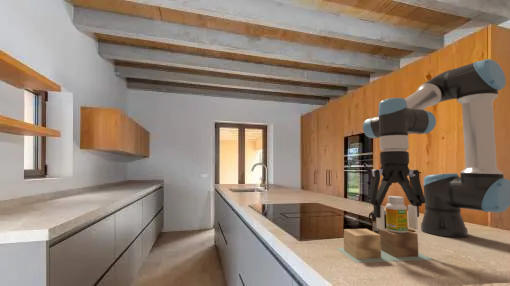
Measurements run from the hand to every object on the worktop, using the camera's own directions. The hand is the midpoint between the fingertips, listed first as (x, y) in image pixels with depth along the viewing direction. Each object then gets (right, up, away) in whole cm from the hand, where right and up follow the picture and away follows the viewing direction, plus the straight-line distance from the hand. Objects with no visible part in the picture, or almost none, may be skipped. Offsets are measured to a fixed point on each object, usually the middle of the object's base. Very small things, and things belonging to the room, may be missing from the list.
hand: (397, 228), depth 74 cm
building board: (-5, -8, -1) cm, 10 cm away
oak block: (-11, -6, -2) cm, 13 cm away
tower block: (0, -7, -1) cm, 7 cm away
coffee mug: (+5, -10, +17) cm, 20 cm away
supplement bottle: (0, -1, 0) cm, 1 cm away
